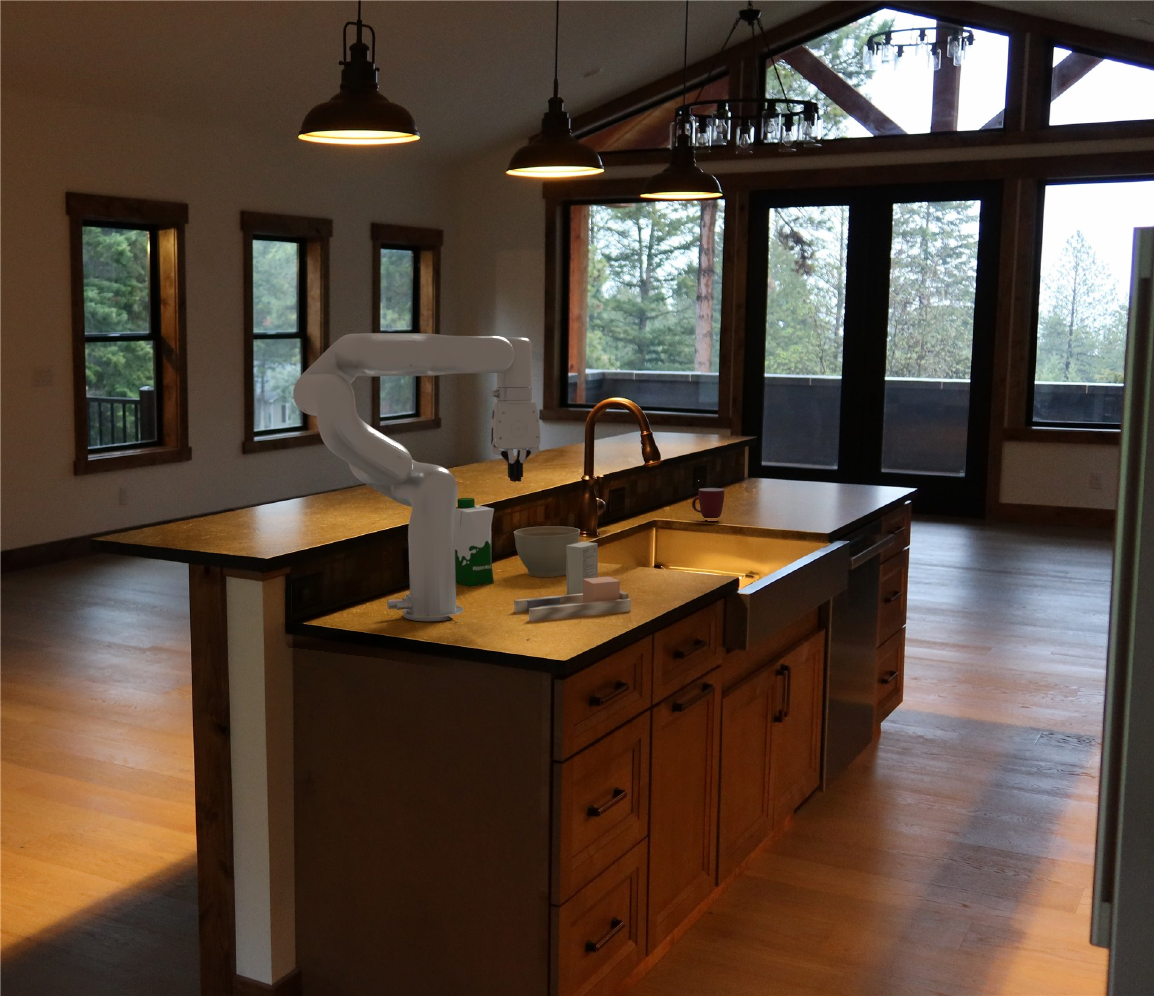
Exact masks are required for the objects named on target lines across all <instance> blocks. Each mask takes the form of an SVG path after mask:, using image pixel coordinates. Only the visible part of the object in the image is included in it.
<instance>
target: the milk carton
mask: <svg viewBox="0 0 1154 996" xmlns="http://www.w3.org/2000/svg"><path fill="white" fill-rule="evenodd" d="M475 504H476V502H475V498H474V497H461V498H460V497H459V498H457V506H456V510H455V522H454V535H455V575H456V585H459V586H462V587H467V588H475V587H480V586H488V585H492V584H494V583H495V581H494V572H493V571H494V570H493V562H492V559H493V557H492V523H493V517H494V512H495V508H491V507H488V506H482V505H475Z"/></svg>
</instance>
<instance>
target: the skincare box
mask: <svg viewBox="0 0 1154 996" xmlns="http://www.w3.org/2000/svg"><path fill="white" fill-rule="evenodd" d="M598 559H599V558H598V543H596V542H591V541H589V542H588V541H579V542H578V543H574V544H570V545H566V568H567V569H566V571H567V574H566V595H571V594H581V593H583V579H587V578H598V577H599V569H598V568H599V566H598V565H599V564H598V561H599V560H598Z"/></svg>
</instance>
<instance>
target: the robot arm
mask: <svg viewBox="0 0 1154 996" xmlns="http://www.w3.org/2000/svg"><path fill="white" fill-rule="evenodd" d="M532 347H533V346H532V342H531V340H530V339H529V338H527V337H503V336H499V335H498V336H497V335H484V336H483V335H482V336H481V335H480V336H479V335H478V336H477V335H471V336H469V335H447V334H435V333H420V332H419V333H399V332H398V333H395V332H393V333H390V332H389V333H386V332H385V333H383V332H378V333H377V332H375V333H374V332H373V333H372V332H369V333H363V332H362V333H349V334H344V335H343V336H341V337H340V338H338V339H336V341H334V342H333V343H332V344H331V346H329V347H328V348H327V349H326V350H325V352H323V353H322V354H321V355H320V356H319V357H318V358H317V360H316V361H314V362H313V363H312V364H311V365H310V366H309V367H308V368H307V369H306V370H305V371H304V372H303V373H302V374H301V375H300V377H298V379H297V381H296V382H295V384H294V387H293V393H292V395H293V396H292V397H293V401H294V403H295V405H296V407H297V408H298V409H299V410H300V411H302V412H303V413H304V414H306V415H310V416H314V417H315V416H316V421H317V422H316V423H317V427H318V431H319V434H320V438H321V439H322V442H323V443H324V445H325V446H326V447H327V449H328V450H329V451H330V452H331V453H333V455H335V456H336V457H338V458H340V459H341V460H343V461H344V462H346V463H347V464H348V466H349V469H350V471H351V473H352V474H353V475H354V477H355V478H357V480H359V481H360V482H362V483H363V484H366V485H367V486H368V487H370V488H372V489H374V490H375V491H377V492H379V493H381V494H382V495H384V496H386V497H387V498H389V499H391V500H392V501H395V502H397V503H399V504H401V505H403V506H406V507H411V512H410V516H409V521H408V527H407V528H408V531H407V534H408V535H407V539H408V541H407V542H408V562H409V563H408V569H409V574H408V575H409V593H406V594H405V597H404V596H403V597H402V598H401V599H390V600H389V599H388V600H387V602H386V605H387V606H386V607H387V609H388V610H397V611H400V610H401V611H402V610H403V611H402V616H403V618H404V619H406V620H409V621H410V620H411V621H414V622H415V621H416V622H443V621H444V622H445V621H451V620H454V618H453V617H451V616H455V615H459V614H462V613H463V612H464V611H465V608H463V607H462V606H460V605H457V584H456V575H455V535H454V522H455V510H456V507H457V504H458V502H457V499H458V492H459V490H458V488H459V487H458V483H457V480H456V478H455V476H454V475H453V474H452V473H451V471H449V470H448V469H447V468H445V467H443V466H441V465H437V464H432V463H427V462H418V461H416V460H414V459H413V457H412V455H411V453H410V452H409V450H408V449H407V448H406V447H405V446H404V445H403V444H402V443H400V442H397V440H394V439H392V438H390V437H388V436H386V435H385V434H383V433H382V432H380V431H378V430H377V429H376V428H373V427H372V426H371V425H369V424H368V423H366V422H365V421H364V420H363V419H361V417H360V416H359V414H358V411H357V406H356V396H355V391H354V389H353V386H352V383H353V382H354V381H355V379H357V377H405V376H406V377H415V376H416V377H422V376H427V377H428V376H431V377H432V376H441V375H453V374H496V387H495V389H494V390H490V393H489V395H490V397H491V398H495V399H496V401H495V402H494V403H493V407H492V413H491V419H490V420H491V421H490V422H491V423H490V445H491V447H490V454H491V455H495V456H499V457H502V459H503V460H505V462H506V463H507V478H508V479H509V481H510V482H513V483H516V482H518V483H520V482H522V478H523V477H524V463H525V462H526V460H527V459H528V457H530V455H535V454H538V453H539V452H540V446H541V427H540V418H539V409H538V406H537V405H538V404H537V402H536V401H533V368H532V367H533V365H532V363H533V362H532V361H533V360H532V359H533V358H532V357H533V355H532V351H533V349H532ZM514 450H516V456H515V454H514Z"/></svg>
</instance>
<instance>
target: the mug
mask: <svg viewBox="0 0 1154 996" xmlns="http://www.w3.org/2000/svg"><path fill="white" fill-rule="evenodd" d="M697 501H698V502H699V509H698V508H697V505H696V503H697ZM724 501H725V489H724V488H718V487H705V488H698V496H696V497H694V498H693V499H692V502H691V507H692V509H693V511H695V512H697V513H700V514H701V516H702V517H704V518H718V517H719V518H720V517H721V515H722V513H723V508H724V503H725V502H724ZM704 518H703V519H704Z"/></svg>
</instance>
